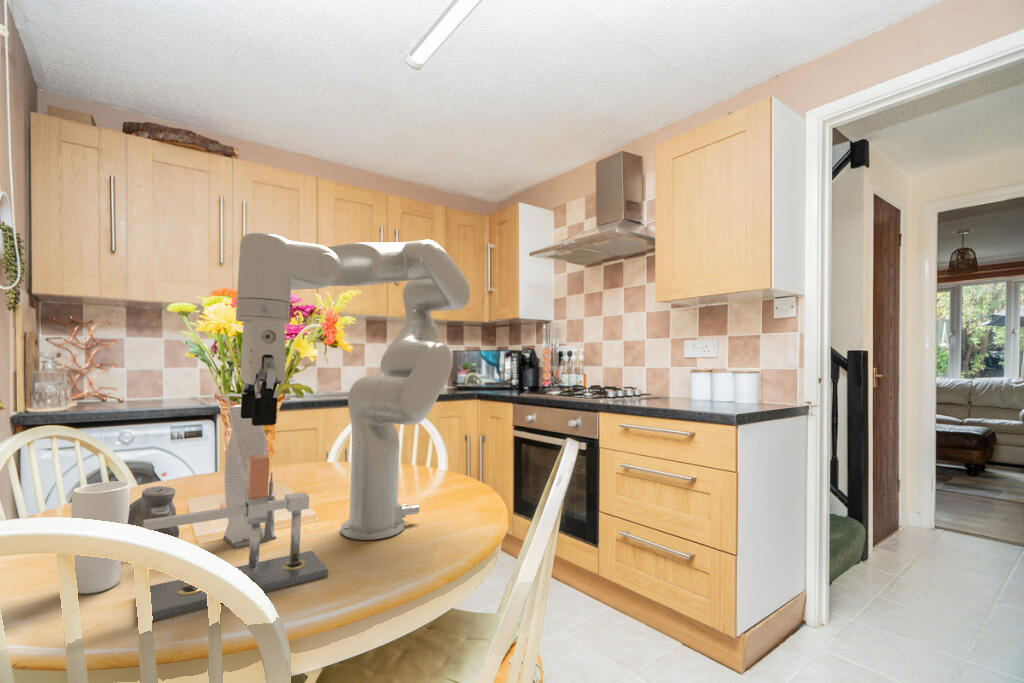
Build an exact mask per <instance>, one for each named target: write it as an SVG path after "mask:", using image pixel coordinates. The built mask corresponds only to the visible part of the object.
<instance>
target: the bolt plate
mask: <svg viewBox="0 0 1024 683" xmlns="http://www.w3.org/2000/svg"><path fill="white" fill-rule="evenodd" d="M235 567H236V568H238V569H239V570H241V571H242V572H243V573H244V574H246V575H247V576H248V577H249V578H250V579H251V580H252V581H253V582H255V583H256V584H257V585H258V586H259V587H260V588H261V589H262V590H263V591H264V592H265V593H269V592H271V591H277V590H281V589H284V588H288V587H292V586H296V585H299V584H304V583H307V582H312V581H315V580H319V579H323V578H328V574H329V573H328V572H329V568H328V567H327V566H326V565H325V563H323V562H322V560H321V559H320V558H319V557H318V556H317V554H316V553H315V552H314V551H313V550H307V551H303V552H299V563H298V564H297V565H291V564H290V554H289V555H285V556H281V557H280V556H279V557H276V558H272V559H271V558H270V559H268V560H261V561H259V567H258V569H257V570H255V571H250V570H249V563H247V564H244V565H239V566H235ZM149 586H150V592H151V604H152V616H153V621H152V622H156V621H159V620H158V619H160V620H164V619H167V617H168V618H171V617H170V616H172V617H175V616H180V615H183V614H186V613H187V614H188V613H191V612H194V611H198V610H202V609H206V608H208V607H207V594H206V593H205V592H203V591H201V590H200V589H198V588H196V587H194V586H192V585H190V584H188V583H185V582H184V581H181V580H179V579H176V580H172V581H171V580H170V581H167V582H163V583H156V584H153V585H149ZM174 615H175V616H174ZM163 618H164V619H163Z"/></svg>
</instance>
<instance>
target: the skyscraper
mask: <svg viewBox="0 0 1024 683" xmlns="http://www.w3.org/2000/svg"><path fill="white" fill-rule="evenodd" d="M242 394H243V393H242ZM242 394H240V393H227V394H226V395H225V396H224V397H225V398H224V399H225V401H226V405H227V408H228V414H229V421H230V428H231V433H230V437H229V441H228V444H227V445H228V446H227V449H226V456H225V461H224V494H225V496H224V497H225V505H226V506H225V508H227V507H234V506H240V505H245V494H246V473H247V456H252V455H262V454H266V455H267V456H268V457H269V453H268V451H269V450H268V444H267V439H266V435H265V434H266V433H265V429H264V426H265V425H262V426H254V425H252V418H246V419H243V418H241V404H235V405H232V406H231V402H230V399H229V397H240V398H242ZM273 473H274V472H272V471H271V472H270V481H268V501H274V500H275V498H276V497H275V496H276V495H275V494H274V481H273ZM227 519H228V523H227V526H226V529H225V531H224V534H223V539H224V540H225V541H226V542H227V543H229V544H230V546H233V547H234V548H235V549H240V548H245V547H248V546H249V545H250V525H248V524H247V522H246V521H245V519H244V515H241V516H235V517H229V518H227ZM264 525H265V526H264V527H262V526H260V544H261V543H265V542H269V541H271V540H276V538H277V536H276V535H275V510H272V511H268V514H267V522H264Z"/></svg>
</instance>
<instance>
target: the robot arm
mask: <svg viewBox="0 0 1024 683" xmlns="http://www.w3.org/2000/svg"><path fill="white" fill-rule="evenodd" d="M237 274H238V275H237V292H236V293H237V294H236V307H235V308H236V310H235V321H236V322H243V325H242V338H241V339H242V340H241V351H240V352H241V353H240V380H241V381H242V382H243V386H242V397H241V401H240V405H241V418H243V419H246V418H252V425H254V426H262V425H264V426H274V425H275V424H277V412H278V411H277V410H278V386H279V385H282V384H284V383H285V381H286V330H285V328H286V327H285V324H286V325H288V324H290V314H291V313H290V310H291V309H290V308H291V292H292V290H293V291H294V290H297V291H298V290H312V289H313V290H315V289H324V288H327V287H359V286H360V287H362V286H372V285H380V284H381V285H382V284H388V283H390V284H391V283H398V282H406V281H407V282H406V283H405V284H404V286H403V291H402V300H403V306H404V312H405V321H404V323H403V324H404V325H403V326H402V328H401V329H400V331H399V332H398V333H397V335H396V337H395V338H394V339H393V340H392V342H391V343H390V344H389V346H388V347H387V348H386V350H385V352H384V353H383V355H382V357H381V360H380V366H379V367H380V370H381V374H382V375H379V374H378V375H377V374H376V375H375V374H374V375H373V374H371V375H366V376H363V377H361V378H358V379H357V380H356V381H355V382H354V383H353V384H352V386H351V387H350V389H349V392H348V395H347V396H348V397H347V398H348V399H347V403H348V411H349V412H348V413H349V417H350V423H351V462H350V464H351V465H350V491H349V492H350V493H349V514H348V515H349V517H348V518H349V519H347V520H345V521H344V522H342V524H341V525H340V533H341V535H343V536H344V537H346V538H349V539H352V540H360V541H370V540H371V541H373V540H380V539H381V540H382V539H387V538H389V537H393V536H395V535H398V534H399V533H401V532H402V531H403V530H404V528H405V520H404V518H406V517H407V516H409V515H410V516H411V515H416V514H419V512H420V508H419V507H420V506H419V504H412V505H411V504H410V505H409V504H408V503H403V504H400V503H399V500H398V499H399V474H400V472H399V471H400V470H399V469H400V468H399V467H400V448H401V447H400V437H399V434H398V431H397V428H396V426H395V424H397V425H405V426H407V425H408V426H412V425H417V424H419V423H421V422H422V421H423V420H425V418H427V416H428V415H429V413H430V412H431V410H432V408H433V407H434V405H435V403H436V401H437V400H438V398H439V396H440V394H441V392H442V391H443V390H444V388H445V385H446V384H447V382H448V380H449V378H450V375H451V372H452V367H453V356H452V351H451V350H450V348H449V347H448V346H447V345H446V344H445V343H444V342H442V341H439V340H438V339H439V329H438V326H437V323H436V322H435V320H434V318H433V314H432V312H440V311H441V312H444V311H447V312H448V311H458V310H462V309H464V308H465V307H466V306H467V304H468V303H469V301H470V298H471V288H470V285H469V282H468V279H467V278H466V276H465V275H464V273H463V272H462V271H461V269H460V268H459V266H458V265H457V264H456V263H455V261H454V259H452V257H451V256H450V254H449V253H448V252H447V251H446V250H445V249H444V248H443V247H442V246H441V245H440V244H439V243H437V242H436V241H434V240H432V239H420V240H411V241H399V242H397V241H396V242H391V241H389V242H387V241H386V242H375V241H374V242H370V241H369V242H366V241H364V242H363V241H361V242H352V243H346V244H345V243H343V244H339V245H333V246H332V245H331V246H324V245H322V244H318V243H309V242H308V243H307V242H301V241H294V240H289V239H287V238H285V237H283V236H281V235H278V234H272V233H267V232H251V233H246V234H245V235H243V236H242V238H241V240H240V242H239V258H238V273H237Z"/></svg>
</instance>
